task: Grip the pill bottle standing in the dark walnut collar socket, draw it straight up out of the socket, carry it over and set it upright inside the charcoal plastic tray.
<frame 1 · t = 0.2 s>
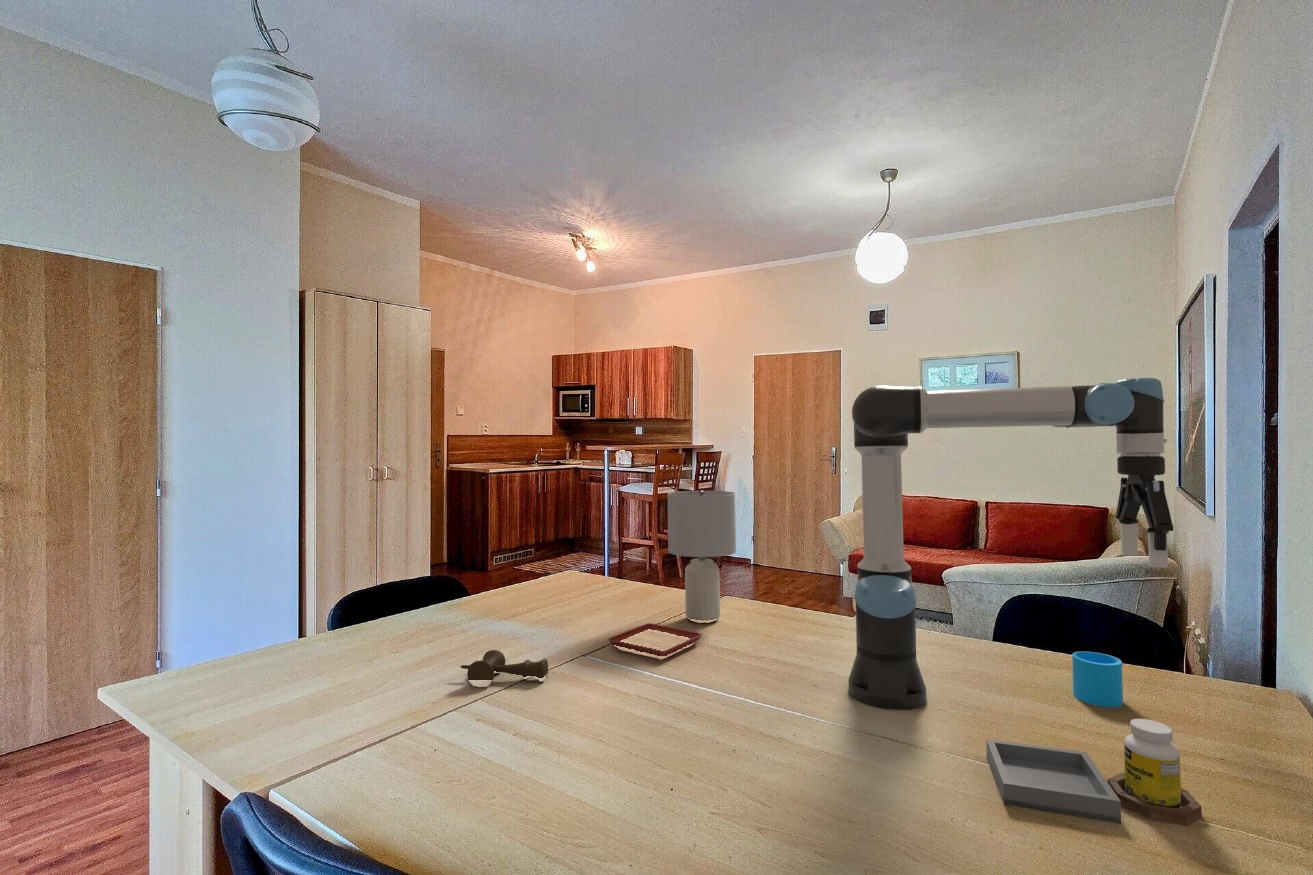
hand: (1143, 560, 122), 28 cm above the table, tool pointing down, fingers open, 13 cm apart
tray: (1047, 787, 91), on the table
pill bottle: (1152, 804, 87), resting in collar socket
kendama: (503, 681, 136), on the table
plant saucer: (655, 649, 158), on the table
lamp: (702, 620, 182), on the table
mug: (1093, 695, 124), on the table
collar socket: (1152, 803, 87), on the table
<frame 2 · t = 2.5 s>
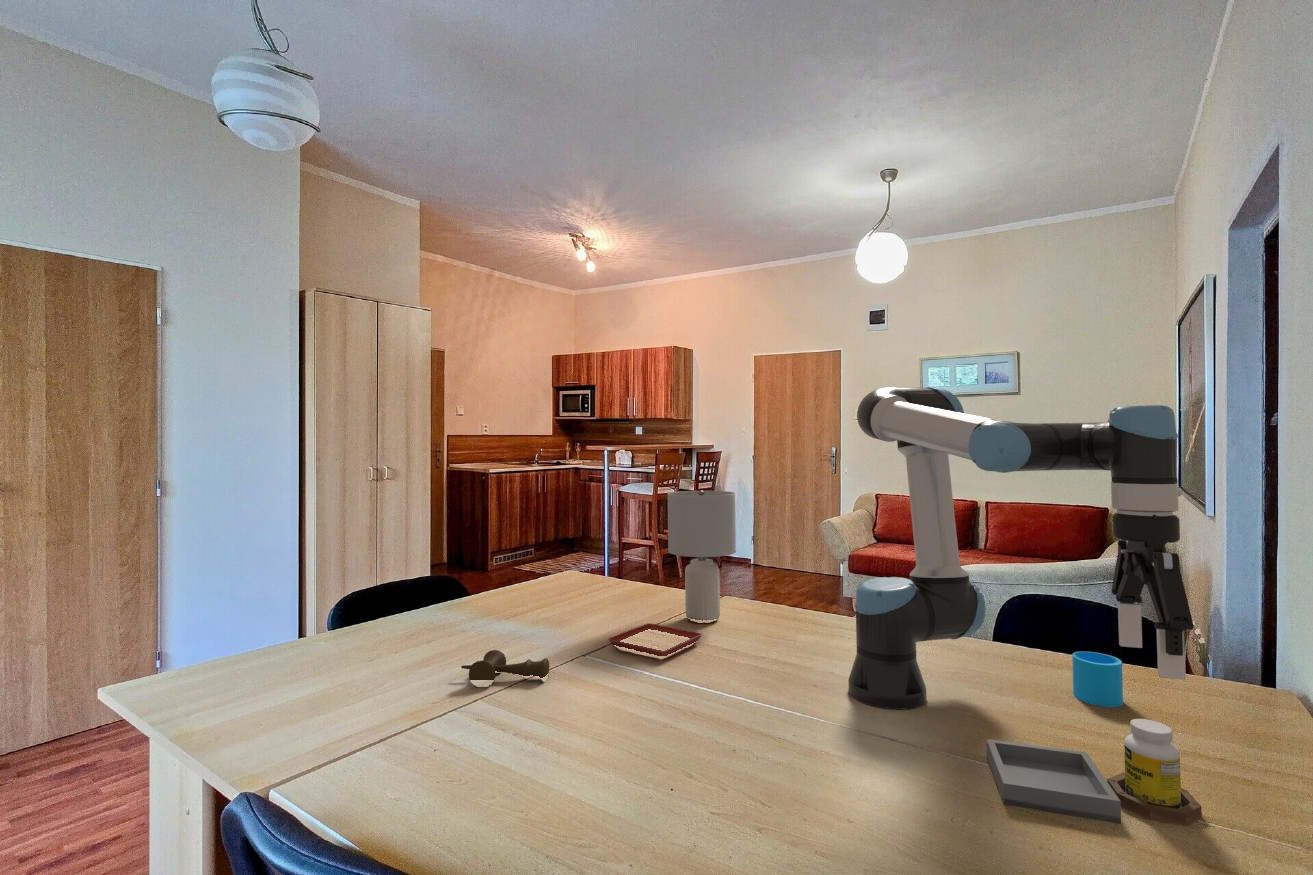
hand: (1149, 661, 87), 20 cm above the table, tool pointing down, fingers open, 13 cm apart
nothing on the table moved.
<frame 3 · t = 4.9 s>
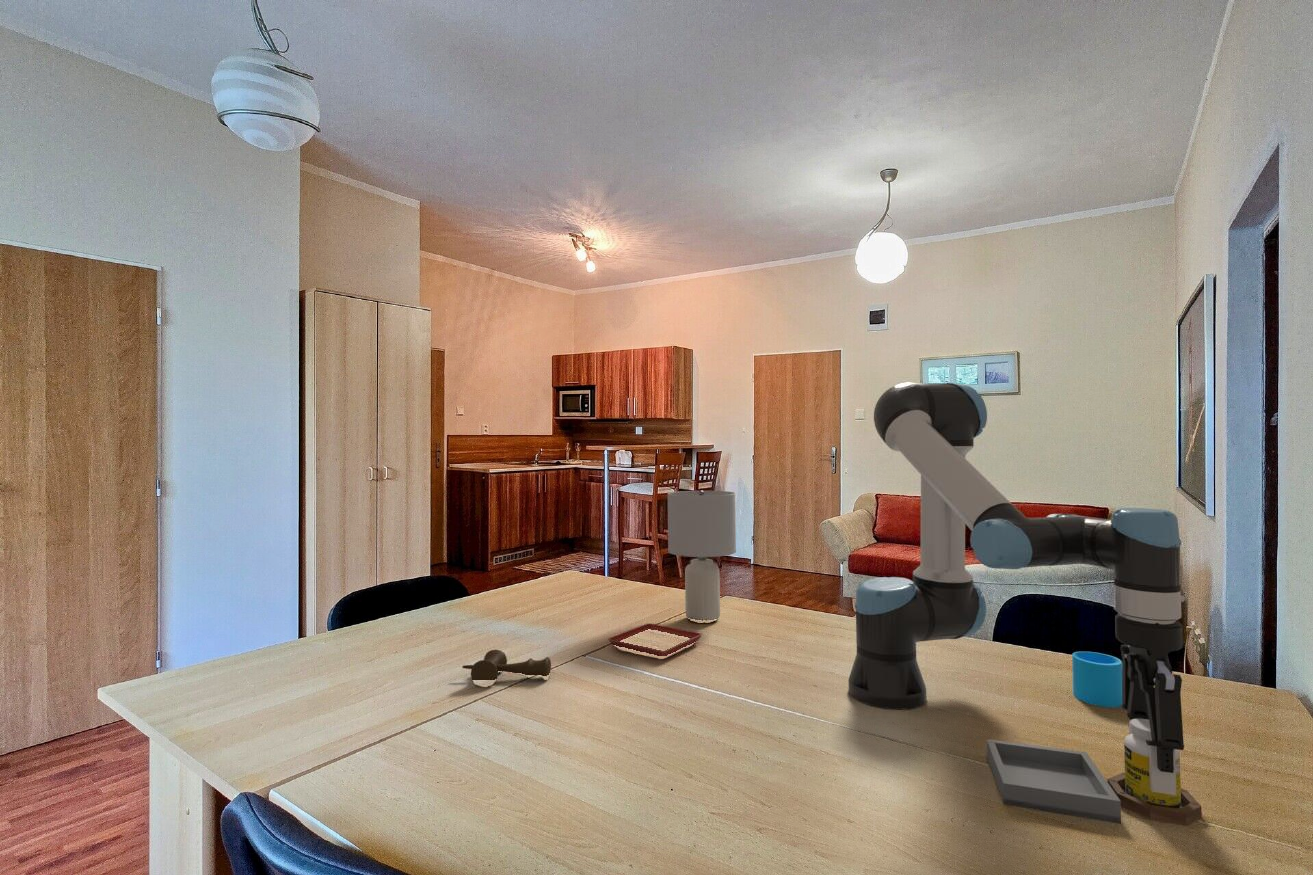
hand: (1152, 778, 87), 3 cm above the table, tool pointing down, fingers closed on pill bottle, 6 cm apart
pill bottle: (1152, 804, 87), resting in collar socket, touching gripper
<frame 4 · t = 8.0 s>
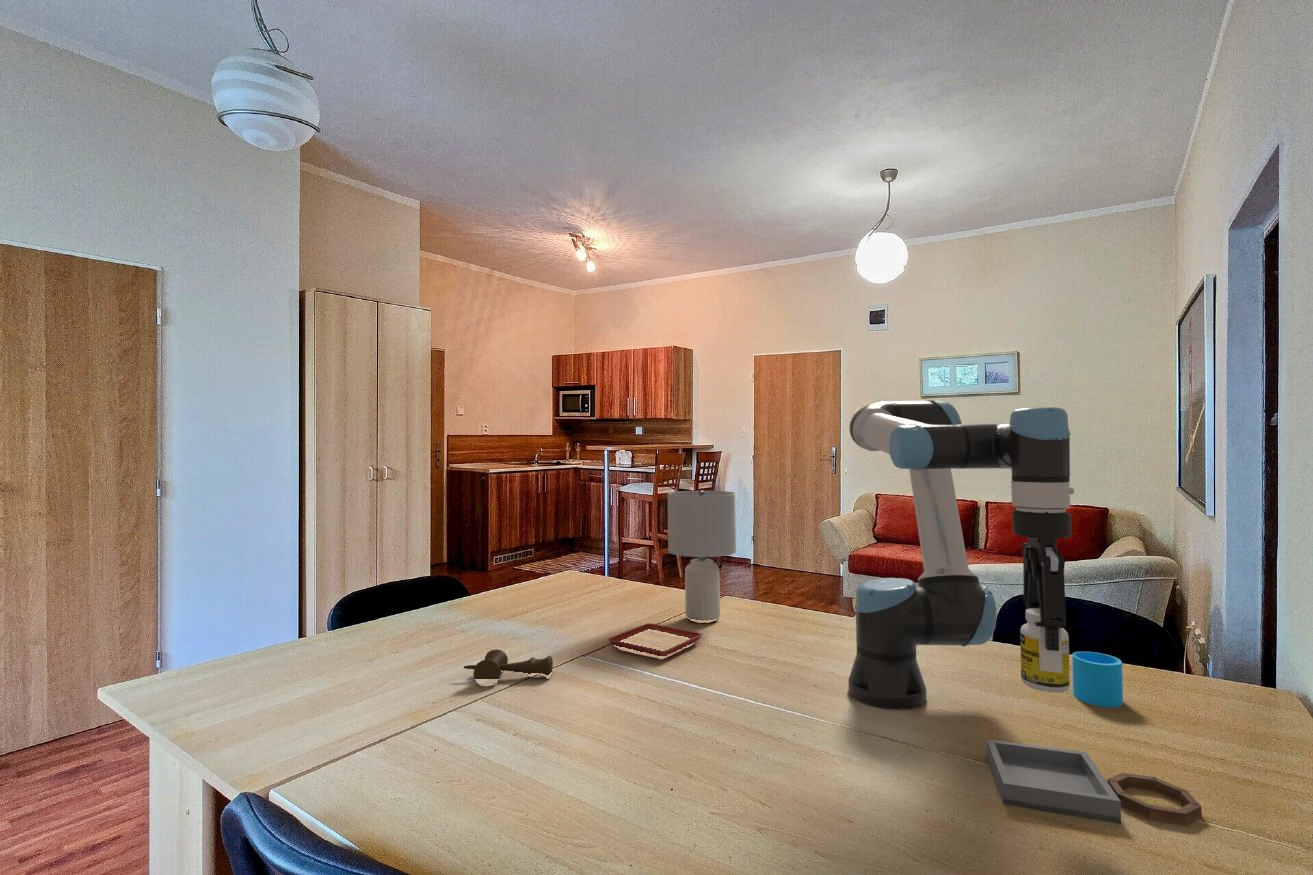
hand: (1044, 662, 91), 19 cm above the table, tool pointing down, fingers closed on pill bottle, 6 cm apart
pill bottle: (1045, 687, 91), point 15 cm above the table, touching gripper
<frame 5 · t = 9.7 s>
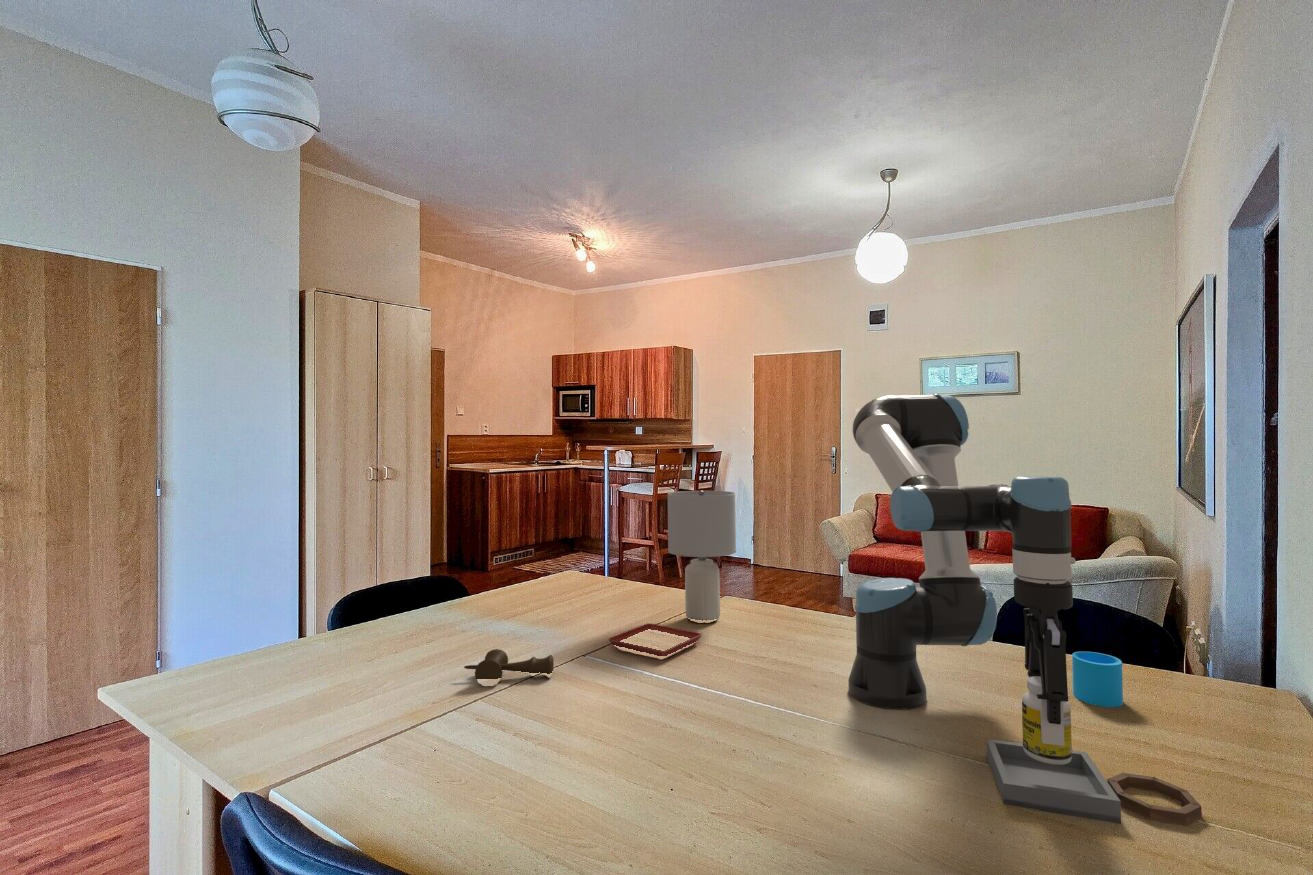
hand: (1046, 732, 91), 8 cm above the table, tool pointing down, fingers closed on pill bottle, 6 cm apart
pill bottle: (1047, 757, 91), point 4 cm above the table, touching gripper
when the fingers open (6 cm above the table, at t = 11.0 s): pill bottle drops 1 cm, resting on tray.
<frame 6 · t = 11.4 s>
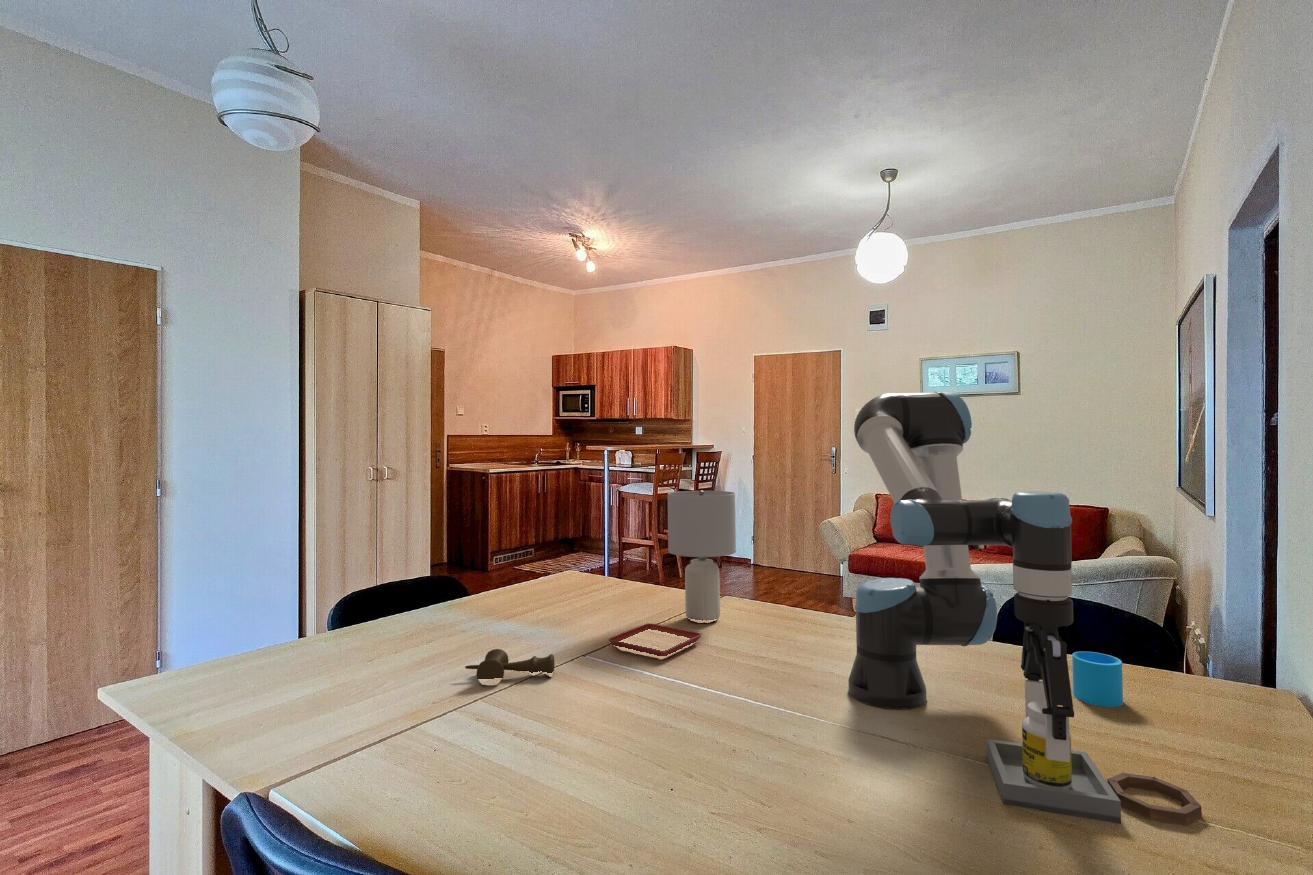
hand: (1046, 739, 91), 7 cm above the table, tool pointing down, fingers open, 11 cm apart
pill bottle: (1047, 782, 91), point 1 cm above the table, touching tray
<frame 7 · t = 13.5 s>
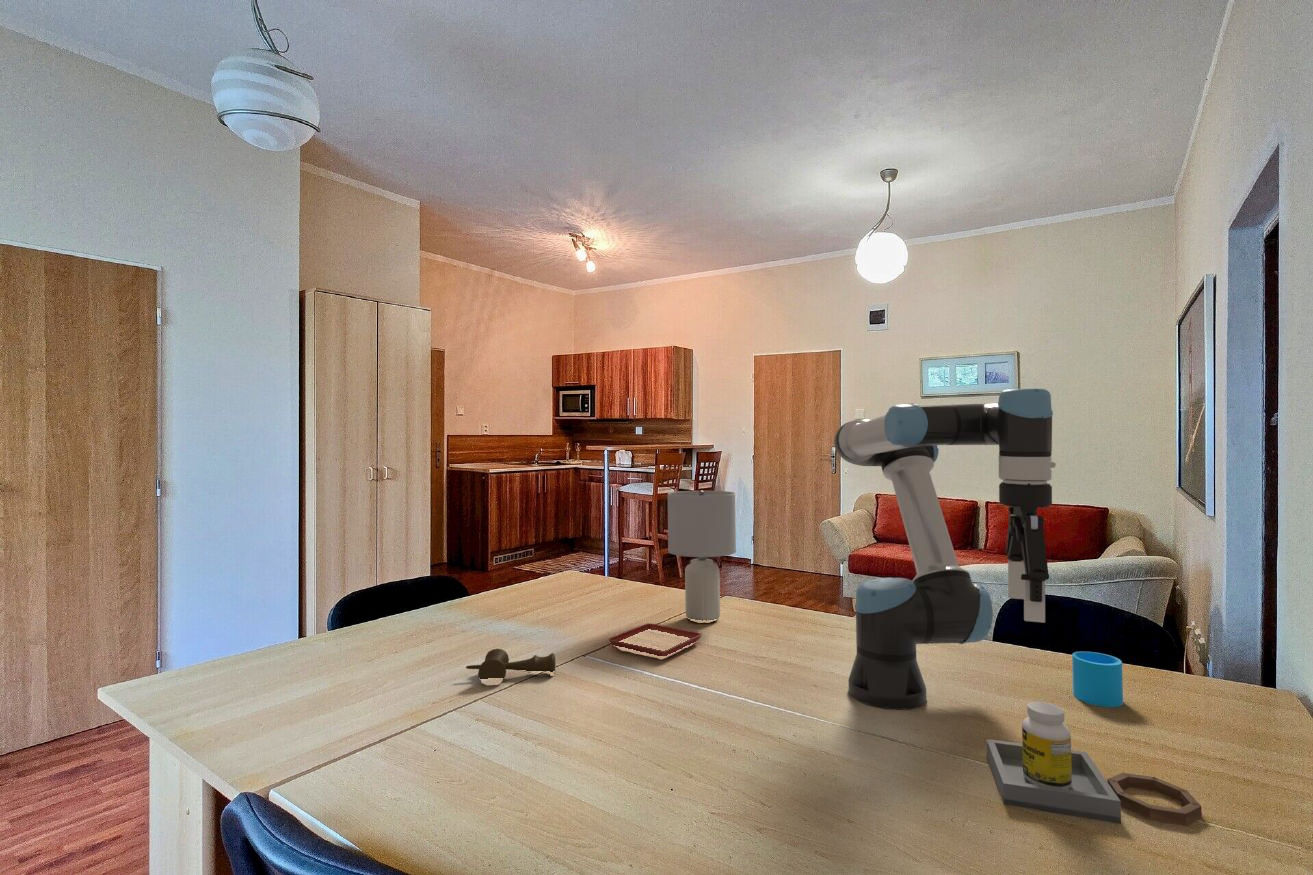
hand: (1025, 609, 101), 24 cm above the table, tool pointing down, fingers open, 13 cm apart
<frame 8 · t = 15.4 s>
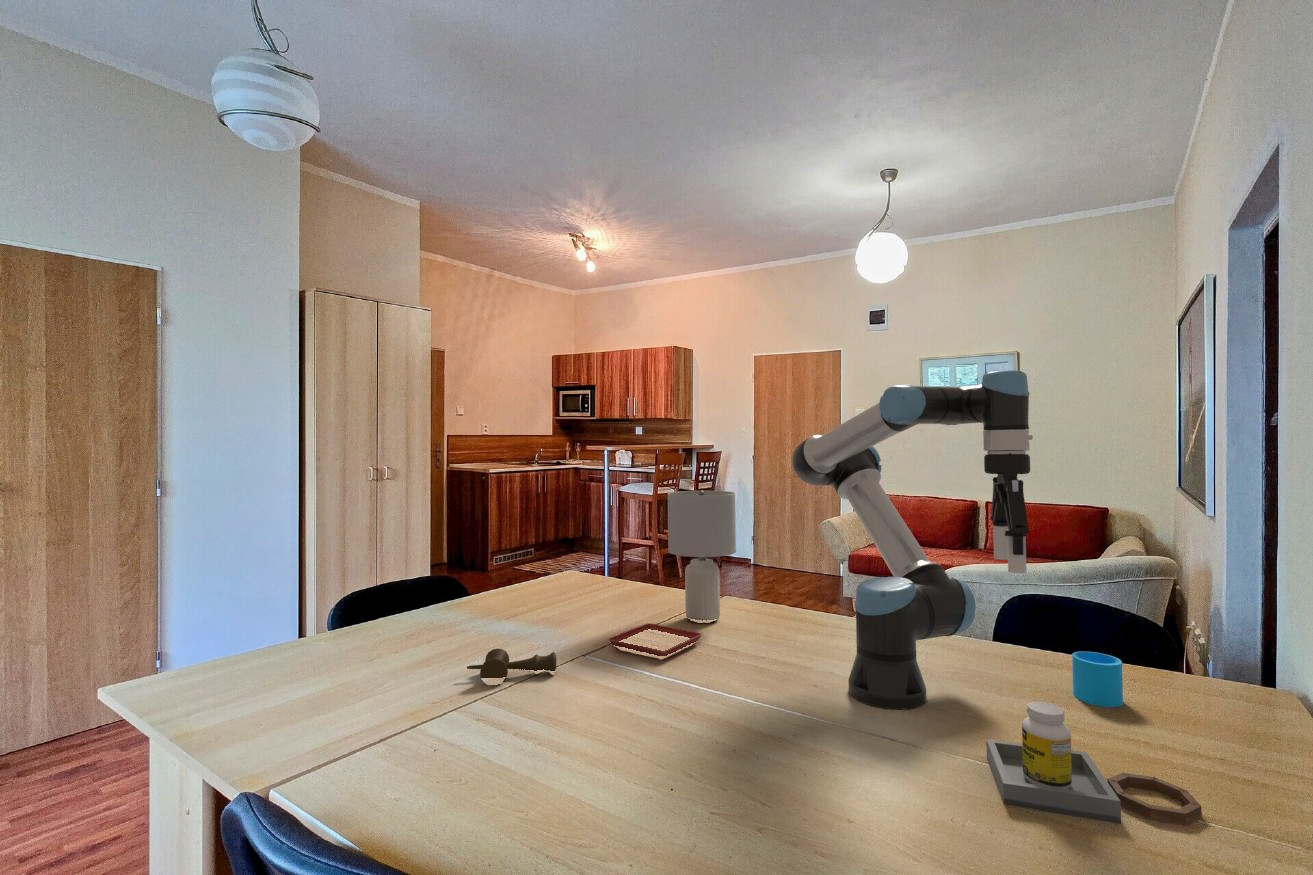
hand: (1009, 565, 114), 29 cm above the table, tool pointing down, fingers open, 13 cm apart
at the end: pill bottle inside the target area on the tray (0.0 cm from its centre), point 0.6 cm above the tray's base; pill bottle tilted 0°; the gripper is holding nothing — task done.
